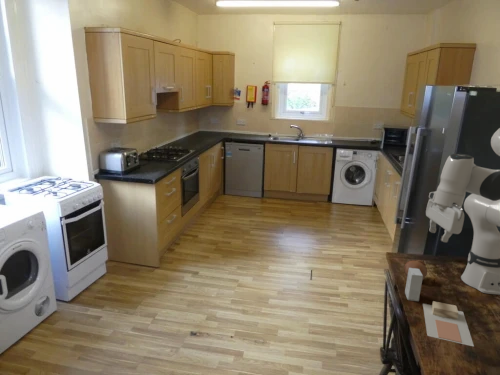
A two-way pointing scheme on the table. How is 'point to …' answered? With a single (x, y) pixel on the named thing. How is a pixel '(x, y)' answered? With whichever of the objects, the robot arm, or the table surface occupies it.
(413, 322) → the table surface
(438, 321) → the mat
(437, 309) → the beige angular block
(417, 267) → the onion
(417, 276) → the skincare box
